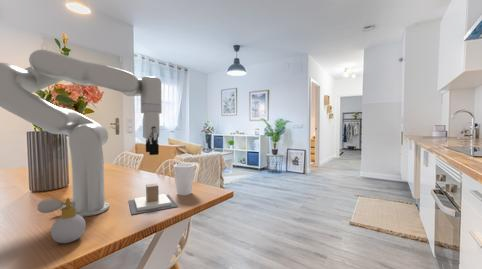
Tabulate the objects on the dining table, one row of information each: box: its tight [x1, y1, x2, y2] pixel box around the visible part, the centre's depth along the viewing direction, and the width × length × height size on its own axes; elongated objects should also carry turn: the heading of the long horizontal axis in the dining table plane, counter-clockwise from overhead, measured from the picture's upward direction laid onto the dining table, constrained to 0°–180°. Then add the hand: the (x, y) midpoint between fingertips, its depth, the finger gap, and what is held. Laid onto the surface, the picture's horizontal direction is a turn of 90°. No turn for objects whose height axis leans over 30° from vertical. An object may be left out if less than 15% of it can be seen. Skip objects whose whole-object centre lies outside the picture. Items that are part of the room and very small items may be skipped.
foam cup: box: [173, 163, 196, 196], centre depth 103 cm, size 10×9×13 cm
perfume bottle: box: [37, 197, 86, 244], centre depth 60 cm, size 8×10×12 cm
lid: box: [133, 182, 171, 211], centre depth 89 cm, size 12×12×7 cm
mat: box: [128, 194, 179, 216], centre depth 89 cm, size 16×16×1 cm
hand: (152, 153), depth 88 cm, fingers open, 9 cm apart
